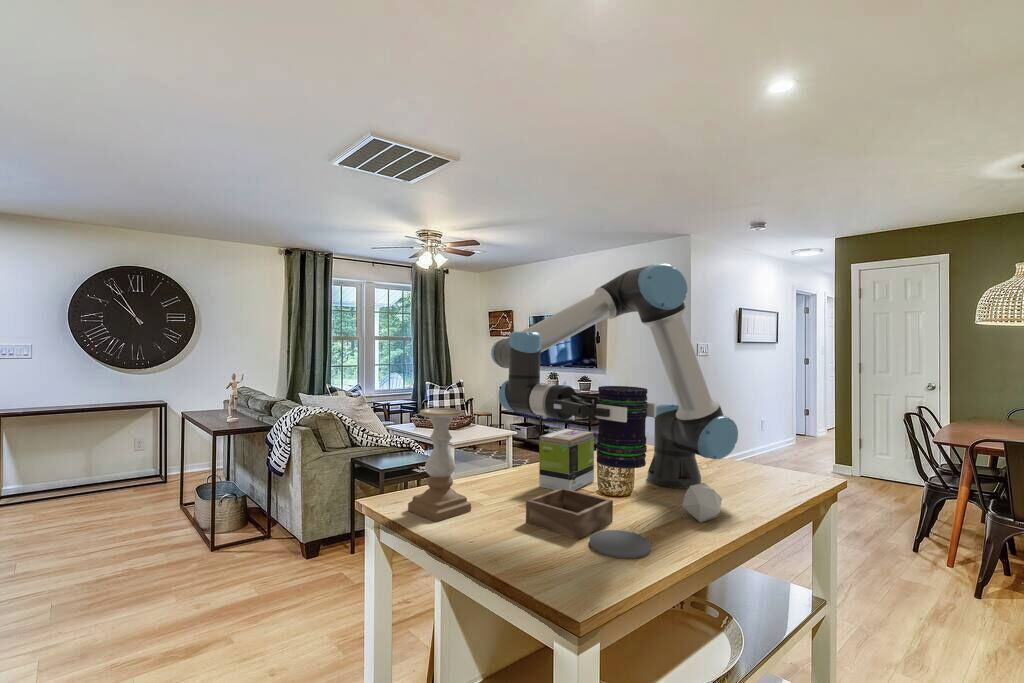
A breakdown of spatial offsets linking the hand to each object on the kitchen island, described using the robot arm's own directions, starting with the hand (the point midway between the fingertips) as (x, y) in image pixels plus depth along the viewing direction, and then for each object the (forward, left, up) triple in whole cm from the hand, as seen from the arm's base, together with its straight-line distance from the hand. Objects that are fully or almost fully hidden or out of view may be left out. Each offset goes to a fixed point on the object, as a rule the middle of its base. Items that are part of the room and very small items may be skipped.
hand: (641, 412), depth 100 cm
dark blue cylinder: (0, -4, -11) cm, 12 cm away
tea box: (-29, -37, -28) cm, 55 cm away
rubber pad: (0, -4, -27) cm, 28 cm away
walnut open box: (-4, -19, -27) cm, 34 cm away
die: (-28, +2, -28) cm, 40 cm away
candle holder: (+11, -46, -27) cm, 55 cm away
